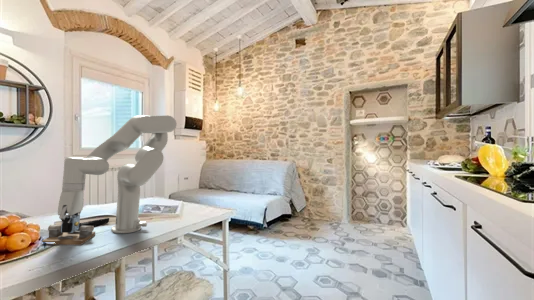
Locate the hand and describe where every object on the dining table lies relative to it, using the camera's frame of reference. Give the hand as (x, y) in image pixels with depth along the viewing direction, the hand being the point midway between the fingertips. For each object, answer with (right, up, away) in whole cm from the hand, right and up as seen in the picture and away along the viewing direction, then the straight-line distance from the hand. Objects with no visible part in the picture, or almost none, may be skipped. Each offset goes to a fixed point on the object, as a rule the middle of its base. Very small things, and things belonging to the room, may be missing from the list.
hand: (70, 229), depth 106 cm
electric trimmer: (-4, -4, +18) cm, 19 cm away
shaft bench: (0, -4, 0) cm, 4 cm away
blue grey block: (0, 0, 0) cm, 0 cm away
